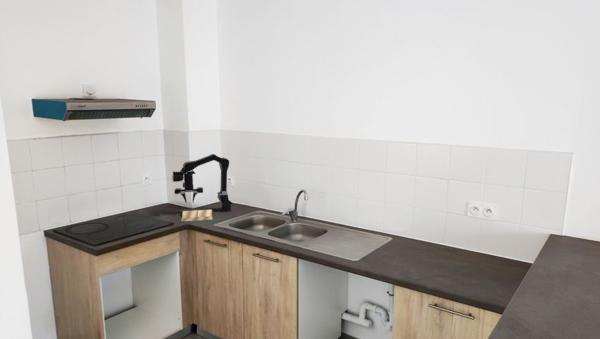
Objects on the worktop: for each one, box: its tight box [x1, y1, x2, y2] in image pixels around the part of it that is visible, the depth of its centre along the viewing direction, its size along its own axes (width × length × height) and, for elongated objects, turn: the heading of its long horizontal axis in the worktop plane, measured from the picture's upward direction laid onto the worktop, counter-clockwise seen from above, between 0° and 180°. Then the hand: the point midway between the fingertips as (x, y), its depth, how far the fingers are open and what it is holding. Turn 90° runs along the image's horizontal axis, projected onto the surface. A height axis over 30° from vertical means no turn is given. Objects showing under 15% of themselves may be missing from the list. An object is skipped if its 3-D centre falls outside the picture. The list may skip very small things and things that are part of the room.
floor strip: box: [180, 215, 213, 222], centre depth 278 cm, size 20×8×1 cm, turn 102°
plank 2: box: [197, 209, 213, 217], centre depth 286 cm, size 10×7×1 cm
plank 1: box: [181, 209, 198, 219], centre depth 284 cm, size 10×7×1 cm
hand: (189, 202), depth 285 cm, fingers open, 4 cm apart
